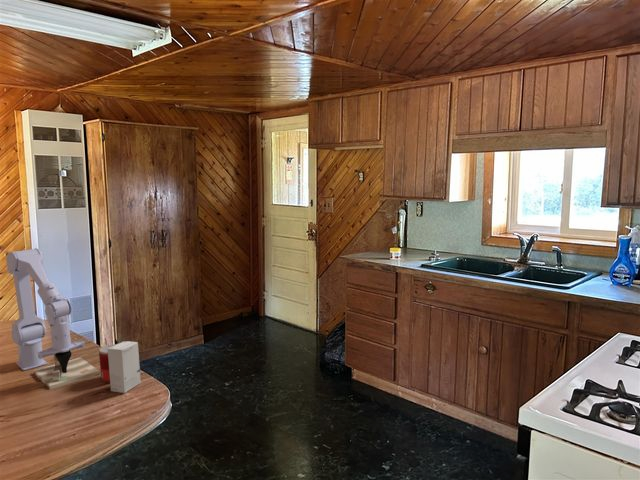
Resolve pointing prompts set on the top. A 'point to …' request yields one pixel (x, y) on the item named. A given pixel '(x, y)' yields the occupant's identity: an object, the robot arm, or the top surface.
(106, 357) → the canned food
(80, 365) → the board
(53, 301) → the robot arm
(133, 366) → the skincare box
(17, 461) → the top surface
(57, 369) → the friction peg
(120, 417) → the top surface
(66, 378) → the green tile
